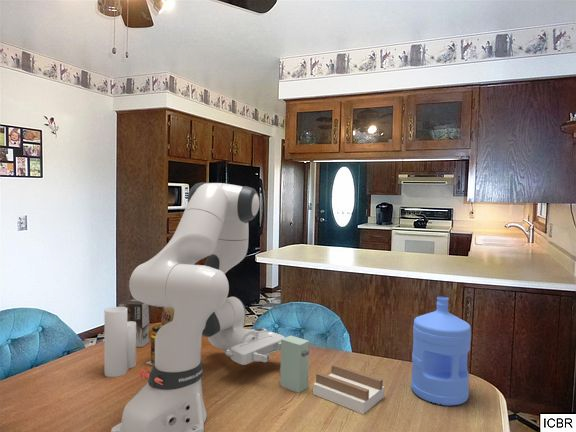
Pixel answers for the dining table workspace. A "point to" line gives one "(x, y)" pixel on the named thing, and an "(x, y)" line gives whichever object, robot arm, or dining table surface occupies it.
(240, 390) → the dining table surface
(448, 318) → the water jug
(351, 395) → the cleat board
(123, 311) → the vase
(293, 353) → the sage cabinet
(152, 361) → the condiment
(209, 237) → the robot arm
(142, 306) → the coffee box
